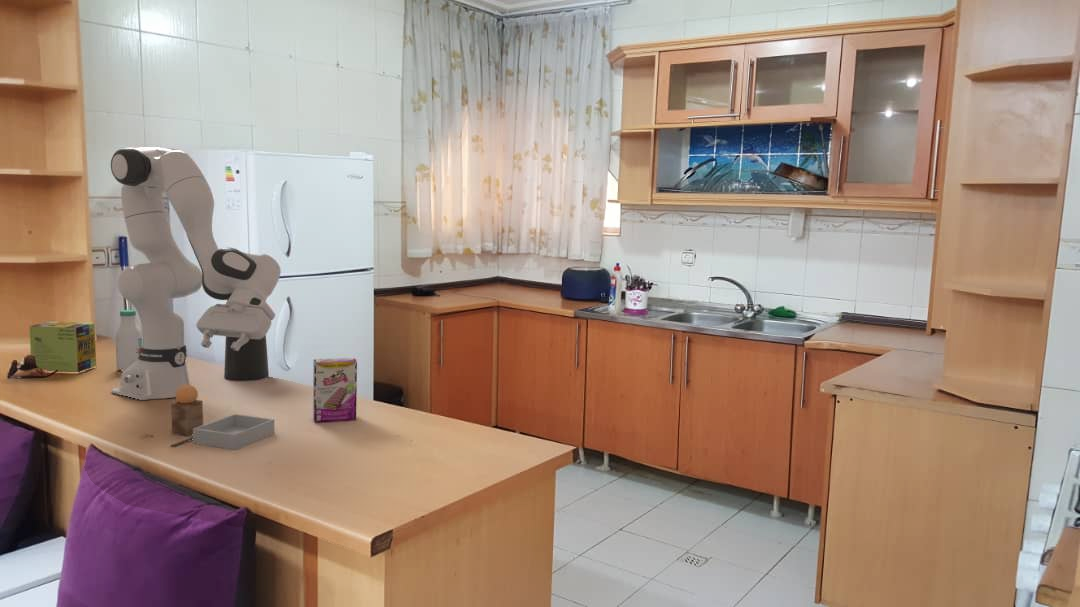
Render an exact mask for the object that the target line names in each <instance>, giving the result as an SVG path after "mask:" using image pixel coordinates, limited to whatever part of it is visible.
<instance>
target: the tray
mask: <svg viewBox="0 0 1080 607" xmlns="http://www.w3.org/2000/svg"><path fill="white" fill-rule="evenodd" d="M274 434H275V419H272V418H266V417H259V416H253V415H252V416H251V415H245V414H239V413H233V414H230V415H227V416H224V417H222V418H218V419H215V420H213V421H210V422H207V423H205V424H204V423H203V425H202V426H199V427H196V428H193V435H192V437H193V440H192V443H193V444H195V443H199V444H198V445H201V444H204V445H203V446H207V445H210V446H209V447H213V446H216V447H215V448H220V447H221V449H227V450H231V451H233V450H234V451H236V450H239V449H240V448H243V447H246V446H248V445H250V444H253V443H255V442H257V441H260V440H262V439H264V437H265V438H267V437H269V436H272V435H274ZM238 448H239V449H238Z"/></svg>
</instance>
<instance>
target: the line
mask: <svg viewBox="0 0 1080 607" xmlns="http://www.w3.org/2000/svg"><path fill="white" fill-rule="evenodd" d="M192 439H193V436H192V437H191V436H190V437H189V438H187V439H184V440H181V441H177V442H176V443H173V444H171V445H170V447H172V446H175V447H177V445H178V446H180V445H179V444H181V445H182V443H183V444H185V443H184V442H186V443H188V442H187V441H189V440H191V441H193V440H192ZM189 442H190V441H189Z"/></svg>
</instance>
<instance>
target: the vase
mask: <svg viewBox="0 0 1080 607" xmlns="http://www.w3.org/2000/svg"><path fill="white" fill-rule="evenodd" d="M227 301H228V300H226V302H227ZM238 339H240V338H238V337H228V336H225V344H224V345H225V346H224V348H225V351H224V369H223V371H224V375H223V377H224V379H225V380H228V381H233V382H236V381H237V382H248V381H250V382H251V381H258V380H263V379H266V378H267V377H269V376H270V375H269V374H270V373H269V362H268V361H269V359H268V357H269V356H268V347H267V346H268V345H267V334H266V335H265V337H263V338H262V339H260V340H258V339H249V341H248V342H247V343H245V344H244V345H243V346H241V347H240V349H239V351H234V350H232V349H231V345H232V343H233V342H236V341H237V340H238Z"/></svg>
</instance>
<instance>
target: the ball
mask: <svg viewBox="0 0 1080 607" xmlns="http://www.w3.org/2000/svg"><path fill="white" fill-rule="evenodd" d="M198 394H199V392H198V390H197V388H196V387H195V386H194V385H192V384H191V385H183V386H181V387H179V388H178V390H177V391H176V397H175V399H176V402H177V401H178V402H179V403H181V404H190V403H193V402H195V401H196V400H198Z"/></svg>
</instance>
